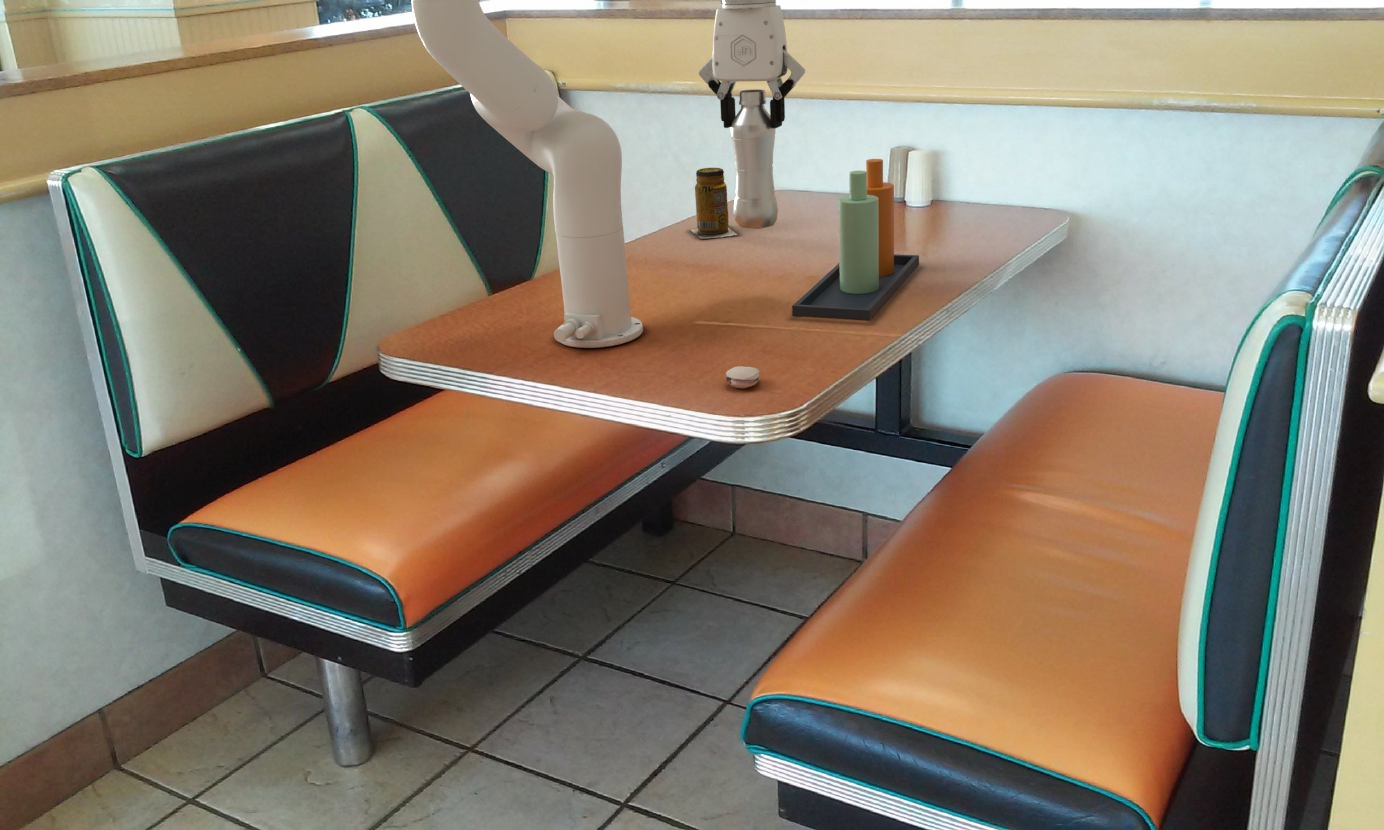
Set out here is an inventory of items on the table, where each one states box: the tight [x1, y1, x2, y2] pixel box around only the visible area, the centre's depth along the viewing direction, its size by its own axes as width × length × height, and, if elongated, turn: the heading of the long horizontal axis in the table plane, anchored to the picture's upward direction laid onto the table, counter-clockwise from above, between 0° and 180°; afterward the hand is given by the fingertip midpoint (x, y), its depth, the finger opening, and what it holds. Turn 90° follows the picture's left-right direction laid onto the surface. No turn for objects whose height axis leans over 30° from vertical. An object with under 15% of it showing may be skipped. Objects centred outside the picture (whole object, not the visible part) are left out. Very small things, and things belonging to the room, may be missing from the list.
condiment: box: [690, 167, 738, 240], centre depth 222 cm, size 7×8×12 cm
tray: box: [791, 253, 920, 322], centre depth 182 cm, size 31×12×2 cm, turn 157°
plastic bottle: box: [729, 88, 779, 230], centre depth 172 cm, size 6×7×20 cm
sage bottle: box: [837, 170, 879, 294], centre depth 178 cm, size 6×6×18 cm
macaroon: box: [725, 365, 760, 389], centre depth 147 cm, size 4×5×2 cm
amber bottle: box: [865, 158, 895, 277], centre depth 186 cm, size 6×6×18 cm
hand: (753, 125), depth 170 cm, fingers closed on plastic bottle, 6 cm apart
